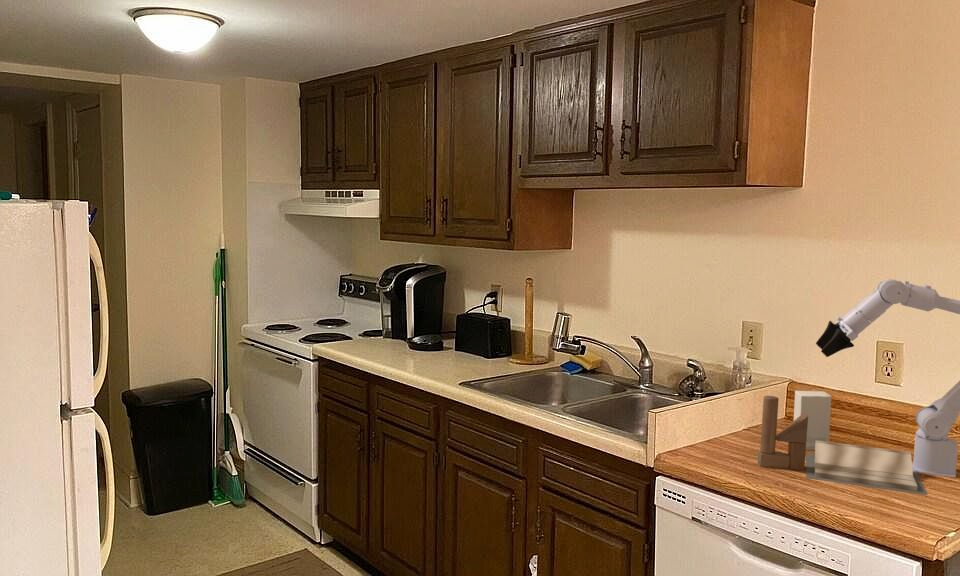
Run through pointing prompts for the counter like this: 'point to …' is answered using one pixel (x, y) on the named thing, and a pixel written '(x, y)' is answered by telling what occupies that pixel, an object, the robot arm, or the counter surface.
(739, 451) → the counter surface
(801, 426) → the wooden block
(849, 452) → the loose plank
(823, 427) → the skincare box
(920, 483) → the underlay mat
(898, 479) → the laid plank
